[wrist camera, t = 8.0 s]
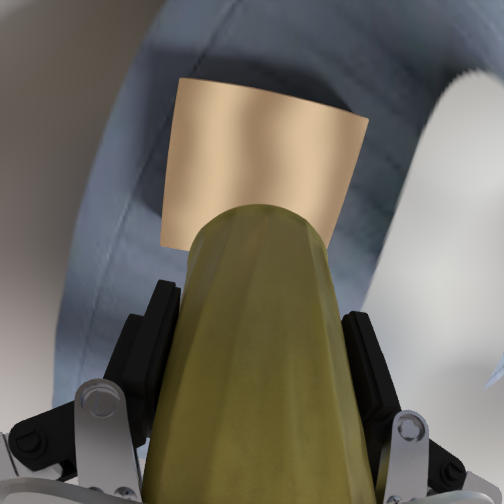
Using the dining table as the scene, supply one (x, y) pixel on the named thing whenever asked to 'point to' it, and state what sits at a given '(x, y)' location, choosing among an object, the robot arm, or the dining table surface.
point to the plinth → (255, 157)
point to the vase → (257, 374)
